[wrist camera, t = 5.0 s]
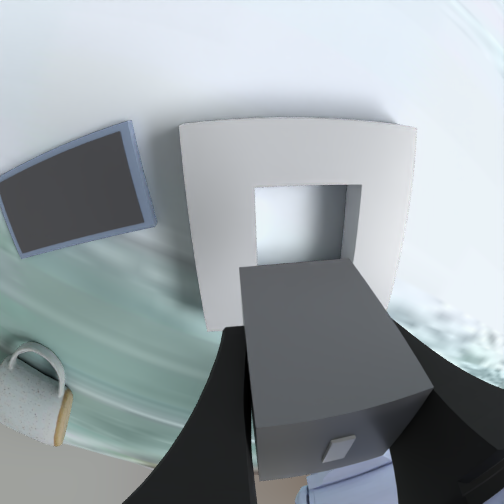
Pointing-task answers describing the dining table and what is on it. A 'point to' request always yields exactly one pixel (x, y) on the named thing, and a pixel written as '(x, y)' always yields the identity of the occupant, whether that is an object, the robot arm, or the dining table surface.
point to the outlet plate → (293, 174)
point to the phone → (77, 193)
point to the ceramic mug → (34, 397)
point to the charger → (324, 368)
